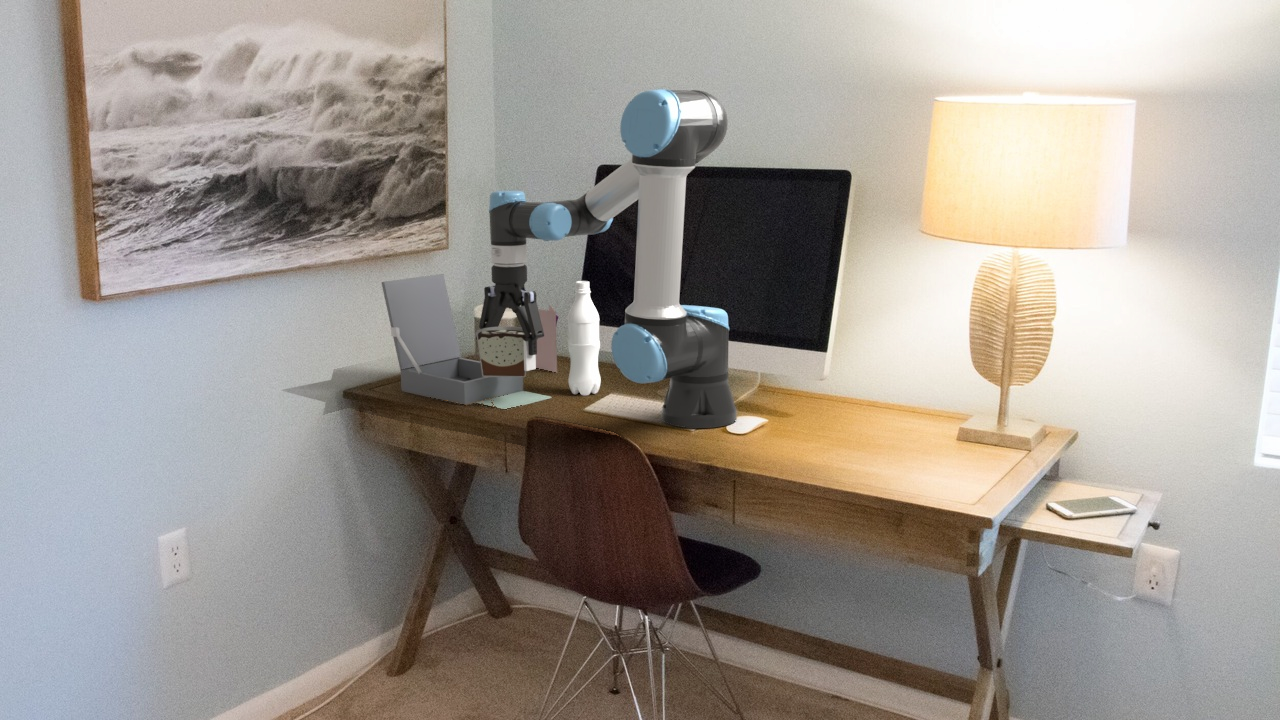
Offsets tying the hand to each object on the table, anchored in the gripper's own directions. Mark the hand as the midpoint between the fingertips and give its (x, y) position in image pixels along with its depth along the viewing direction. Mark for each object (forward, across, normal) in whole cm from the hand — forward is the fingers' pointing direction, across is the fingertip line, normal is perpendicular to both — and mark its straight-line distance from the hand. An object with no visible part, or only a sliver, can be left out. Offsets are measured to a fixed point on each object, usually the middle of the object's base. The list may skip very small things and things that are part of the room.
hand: (512, 366), depth 244 cm
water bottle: (+8, +7, +15) cm, 18 cm away
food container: (+2, -2, 0) cm, 3 cm away
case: (+8, -18, -1) cm, 20 cm away
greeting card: (+8, -19, +27) cm, 34 cm away
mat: (+8, 0, 0) cm, 8 cm away
